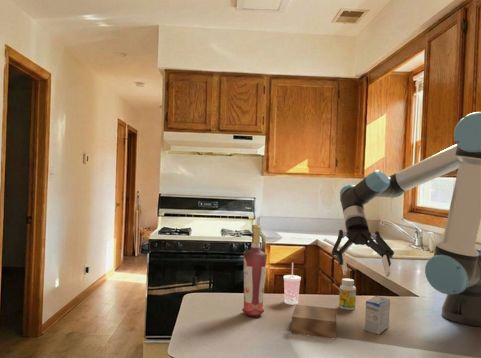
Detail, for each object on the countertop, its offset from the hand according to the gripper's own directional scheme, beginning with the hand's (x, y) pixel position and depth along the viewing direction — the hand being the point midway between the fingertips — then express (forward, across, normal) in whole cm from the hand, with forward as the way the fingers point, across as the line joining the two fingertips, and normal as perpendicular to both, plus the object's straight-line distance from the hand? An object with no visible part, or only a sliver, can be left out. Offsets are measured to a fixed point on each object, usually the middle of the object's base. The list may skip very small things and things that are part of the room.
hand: (366, 273), depth 129 cm
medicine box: (+17, 0, -3) cm, 17 cm away
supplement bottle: (+3, +3, -17) cm, 17 cm away
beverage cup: (+1, +22, -19) cm, 29 cm away
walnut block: (+18, +18, -2) cm, 26 cm away
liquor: (+11, +36, -9) cm, 38 cm away
